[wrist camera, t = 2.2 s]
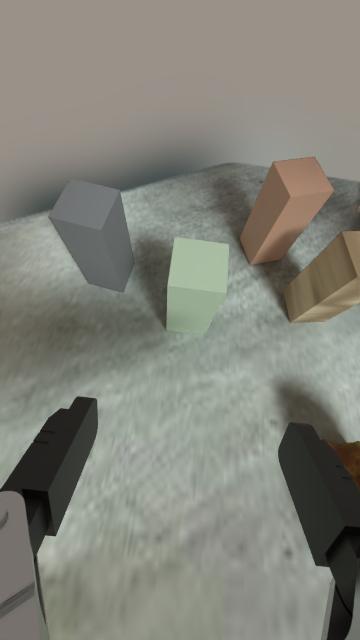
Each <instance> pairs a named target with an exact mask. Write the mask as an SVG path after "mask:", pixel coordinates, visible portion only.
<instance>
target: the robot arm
mask: <svg viewBox="0 0 360 640" xmlns="http://www.w3.org/2000/svg"><path fill="white" fill-rule="evenodd" d="M97 428H98V413H97V399H96V398H88V397H79V396H78V397H76V398H75V400H74V401H73V403H72V405H71V406H70V408H69V409H62V408H61V409H59V410H58V411H57V412H55V413H54V414H53V415H52V416H50V417H49V418H48V420H47V421H46V423H45V424H44V426H43V427H42V429H41V430H40V433H38V435H37V436H36V438H35V439H34V441H33V443H32V444H31V445H30V446H29V448H28V449H27V451H26V452H25V454H24V455H23V457H22V458H21V460H20V461H19V463H18V464H17V466H16V467H15V469H14V470H13V472H12V473H11V475H10V476H9V478H8V479H7V481H6V482H5V484H4V485H3V487H2V488H1V489H0V640H50V637H49V631H48V625H47V618H46V611H45V604H44V597H43V590H42V583H41V576H40V570H39V563H38V556H37V553H38V550H39V548H40V546H41V544H42V541H43V539H44V537H45V535H47V536H56V534H57V532H58V529H59V527H60V524H61V522H62V520H63V517H64V515H65V512H66V510H67V507H68V505H69V502H70V500H71V497H72V495H73V493H74V490H75V488H76V485H77V483H78V480H79V478H80V475H81V473H82V470H83V468H84V465H85V463H86V461H87V458H88V456H89V453H90V451H91V448H92V446H93V443H94V441H95V438H96V434H97ZM278 458H279V463H280V466H281V469H282V471H283V474H284V477H285V480H286V483H287V486H288V488H289V491H290V494H291V497H292V500H293V502H294V505H295V508H296V511H297V514H298V517H299V519H300V522H301V525H302V528H303V531H304V534H305V536H306V539H307V542H308V545H309V548H310V550H311V553H312V556H313V559H314V562H315V565H316V566H324V567H330V570H331V572H332V575H333V578H332V580H331V583H330V589H329V595H328V601H327V607H326V613H325V619H324V625H323V631H322V637H321V640H360V490H359V488H358V487H357V485H356V484H355V482H354V481H353V480H352V477H351V475H350V474H349V472H348V470H347V469H345V465H344V464H343V462H342V460H341V459H340V457H339V455H338V454H337V452H336V451H335V450H334V449H333V448H332V447H331V446H330V445H329V444H328V443H327V442H326V441H325V440H321V439H320V438H319V436H318V435H317V433H316V431H315V429H314V428H313V427H312V426H311V425H310V424H302V423H294V422H291V423H289V425H288V427H287V429H286V432H285V434H284V436H283V439H282V441H281V443H280V446H279V450H278Z"/></svg>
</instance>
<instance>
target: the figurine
mask: <svg viewBox="0 0 360 640" xmlns="http://www.w3.org/2000/svg"><path fill="white" fill-rule="evenodd" d="M325 441H326V440H325ZM326 442H327V443H328V444H329V445H330V446H331V447H332V448H333V449H334V450H335V451H336V452H337V454H338V455H339V457H340V459H341V460H342V462H343V464H344V465H345V469H347V470H348V472H349V474H350V475H351V477H352V480H353V481H354V482H355V484H356V485H357V487H358V488H359V490H360V441H357V442H354V443H344V444H343V445H341V446H339V445H335V444H333V443H330V442H328V441H326Z"/></svg>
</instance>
